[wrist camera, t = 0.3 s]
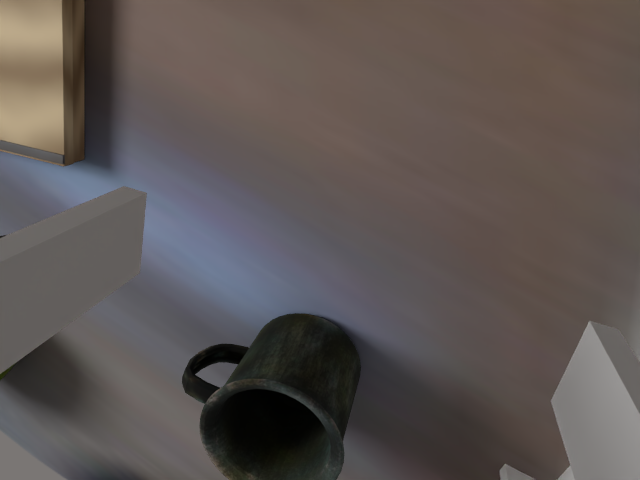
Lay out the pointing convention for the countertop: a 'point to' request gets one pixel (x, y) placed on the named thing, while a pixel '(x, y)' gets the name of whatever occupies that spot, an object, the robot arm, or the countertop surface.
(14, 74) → the dock
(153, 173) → the countertop surface
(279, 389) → the mug
